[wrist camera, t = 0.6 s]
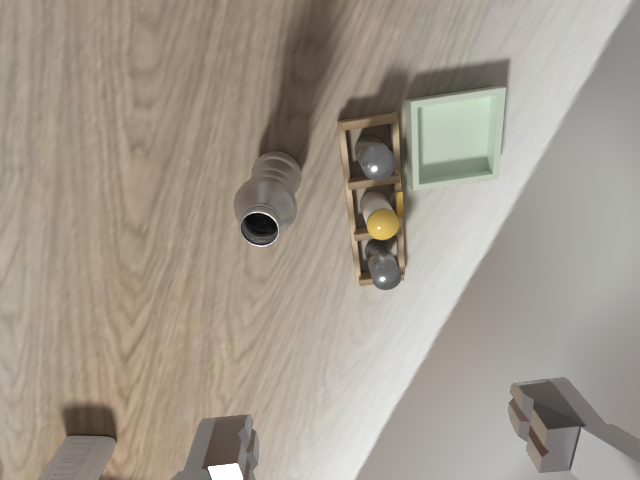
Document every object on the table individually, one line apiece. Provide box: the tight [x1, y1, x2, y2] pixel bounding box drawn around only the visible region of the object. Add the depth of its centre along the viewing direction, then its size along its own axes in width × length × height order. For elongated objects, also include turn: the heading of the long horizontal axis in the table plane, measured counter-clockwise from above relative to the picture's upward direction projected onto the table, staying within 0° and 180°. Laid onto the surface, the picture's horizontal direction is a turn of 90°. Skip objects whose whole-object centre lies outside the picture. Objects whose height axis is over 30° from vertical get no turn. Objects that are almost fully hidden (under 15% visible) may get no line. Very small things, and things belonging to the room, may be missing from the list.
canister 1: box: [355, 135, 396, 181], centre depth 45 cm, size 4×4×8 cm
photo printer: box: [38, 436, 116, 480], centre depth 69 cm, size 10×4×12 cm, turn 87°
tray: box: [405, 86, 506, 191], centre depth 47 cm, size 12×12×3 cm
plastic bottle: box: [234, 151, 301, 247], centre depth 41 cm, size 6×7×20 cm
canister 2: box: [365, 239, 401, 290], centre depth 52 cm, size 4×4×8 cm
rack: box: [337, 112, 405, 286], centre depth 51 cm, size 25×8×2 cm, turn 8°
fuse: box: [360, 191, 399, 240], centre depth 49 cm, size 4×4×8 cm
